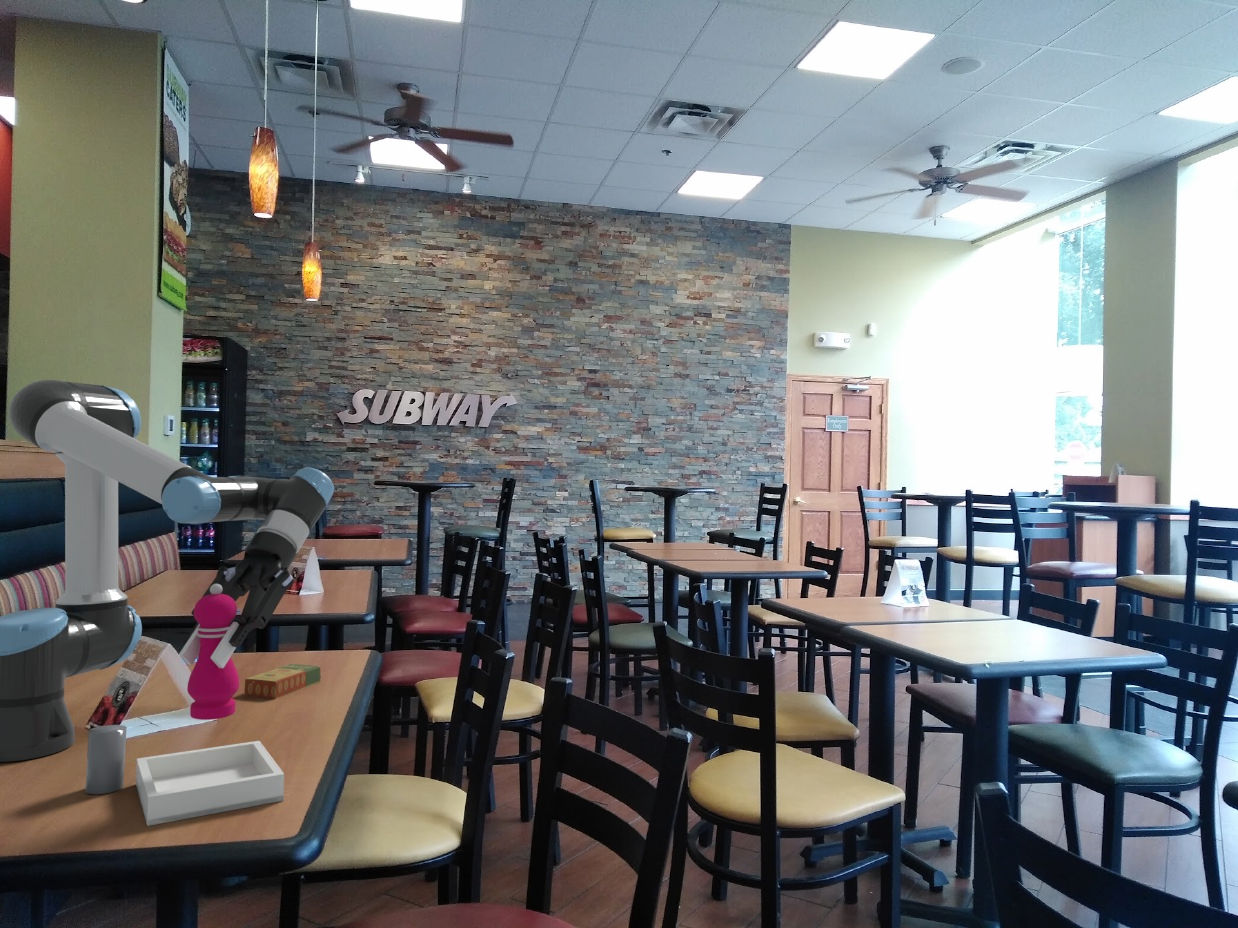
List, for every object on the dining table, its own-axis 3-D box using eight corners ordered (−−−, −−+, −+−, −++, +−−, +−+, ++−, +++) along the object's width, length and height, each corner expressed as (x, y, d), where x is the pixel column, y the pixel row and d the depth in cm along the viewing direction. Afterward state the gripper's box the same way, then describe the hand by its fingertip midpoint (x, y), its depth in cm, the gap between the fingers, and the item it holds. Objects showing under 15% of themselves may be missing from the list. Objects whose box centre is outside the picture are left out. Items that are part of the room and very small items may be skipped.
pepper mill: (224, 721, 126) (228, 587, 126) (176, 720, 126) (180, 586, 126) (247, 707, 133) (250, 581, 133) (201, 706, 133) (205, 579, 133)
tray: (147, 825, 117) (148, 796, 117) (135, 784, 132) (136, 758, 132) (283, 800, 127) (284, 773, 127) (258, 764, 142) (259, 740, 142)
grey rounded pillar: (83, 795, 126) (87, 735, 127) (86, 784, 131) (90, 726, 131) (122, 791, 129) (125, 732, 129) (124, 781, 133) (127, 723, 134)
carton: (243, 697, 184) (243, 677, 184) (290, 680, 199) (290, 661, 199) (276, 700, 181) (276, 680, 182) (321, 683, 197) (321, 664, 197)
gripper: (331, 560, 143) (263, 680, 127) (242, 555, 148) (165, 669, 132) (313, 531, 138) (239, 652, 122) (221, 526, 143) (138, 642, 127)
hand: (201, 661), depth 127 cm, fingers closed on pepper mill, 5 cm apart
